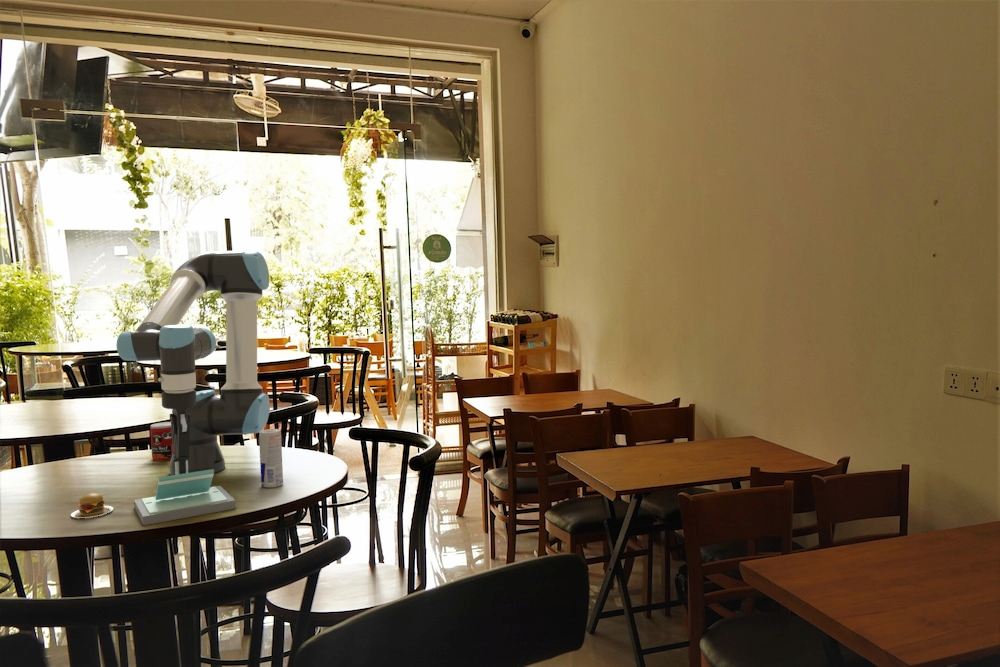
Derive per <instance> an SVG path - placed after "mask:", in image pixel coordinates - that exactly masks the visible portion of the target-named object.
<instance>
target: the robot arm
mask: <svg viewBox="0 0 1000 667" xmlns="http://www.w3.org/2000/svg"><path fill="white" fill-rule="evenodd" d="M269 287H270V272H269V267H268V264H267V260H266V259H265V257H264V256H263V253H261V252H260V251H258V250H245V249H243V250H221V251H219V250H218V251H216V250H215V251H214V250H211V251H210V250H209V251H205V252H202V253H199V254H197V255H195V256H193V257H191V258H189V259H188V260H186V261H184V263H183V264H181V265H180V266H179V267H177V269H175V271H174V272H173V274H172V276H171V278H170V284H169V285H168V287H167V288H166V290H165V291H164V293H163V294H162V295H161V296H160V298H158V300H157V302H156V303H155V305H154V306H153V307H151V308H152V309H151V310H150V311H149V312H148V314H147V315H146V316H145V318H144V319H143V320H142V322H141V323H140V324H139V326H138V327H137V328H136V330H127V331H123V332H121V333H120V334H119V335H118V336H117V339H116V351H117V353H118V356H119V357H120V358H121V360H123V361H125V362H126V361H129V362H132V361H133V362H151V361H160V376H161V377H159V378H157V379H158V380H157V381H158V382H160V386H161V390H162V392H161V406H162V407H163V408H164V409H167V410H171V413H169V420H170V422H171V430H172V442H173V454H172V457H171V460H169V461H170V462H169V465H168V472H169V476H171V475H178V474H185V473H191V472H198V471H204V470H211V469H214V474H215V473H218V472H220V471H223V470H224V469H225V468H226V463H225V462H226V460H225V458H224V455H223V453H222V450H221V448H220V446H219V443H218V435H219V436H221V435H250V434H251V435H252V434H258V433H259V432H260V431H262V430H265V429H264V428H265V427H266V425H267V423H268V420H269V416H270V409H271V403H270V397H269V395H268V394H267V393H265V392H263V391H264V390H263V386H261V385H260V383H258V302H259V300H260V299H262V297H263V291H265V290H267V289H269ZM211 291H216V292H217V291H220V296H221V297H222V298H223V300H224V301H225V302H226V303H225V304H226V306H225V308H226V311H225V314H226V316H225V318H226V319H225V321H226V322H225V324H226V325H225V326H226V327H225V331H226V333H225V334H226V338H225V344H226V345H225V349H226V351H225V353H226V354H225V356H226V358H225V359H226V360H225V361H226V362H225V364H226V366H225V371H226V372H225V376H226V377H225V380H226V381H225V383H224V385H222V387H221V388H220V394H217V393H216V391H215V389H205V390H200V391H196V390H195V389H196V388H197V376H196V375H197V374H196V361H197V360H201V359H205V358H207V357H208V356H209V355H211V354H213V352H214V351H215V349H216V347H217V339H216V336H215V335H214V333H213V332H212V331H210V330H209V329H207V328H203V327H199V328H197V327H195V328H194V327H193V326H192V325H190V324H180V322H181V321H182V319H183V317H184V316H185V315H186V313H187V312H188V310H189V309H190V308H191V306H192V305H193V303H194V301H195V300H196V299H199V298H200V297H202V296H203V295H204V293H206V292H211Z"/></svg>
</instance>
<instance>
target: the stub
mask: <svg viewBox="0 0 1000 667" xmlns="http://www.w3.org/2000/svg"><path fill="white" fill-rule="evenodd" d="M214 474H215V473H214V469H211V470H204V471H198V472H191V473H185V474H178V475H165V476H160V477H158V479H157V484H156V485H157V486H156V491H155V496H154V497H155V499H156V500H161V499H167V498H173V497H179V496H185V495H191V494H197V493H203V492H209V489H210V487H211V485H212V481H213V478H214V476H215V475H214Z"/></svg>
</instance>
